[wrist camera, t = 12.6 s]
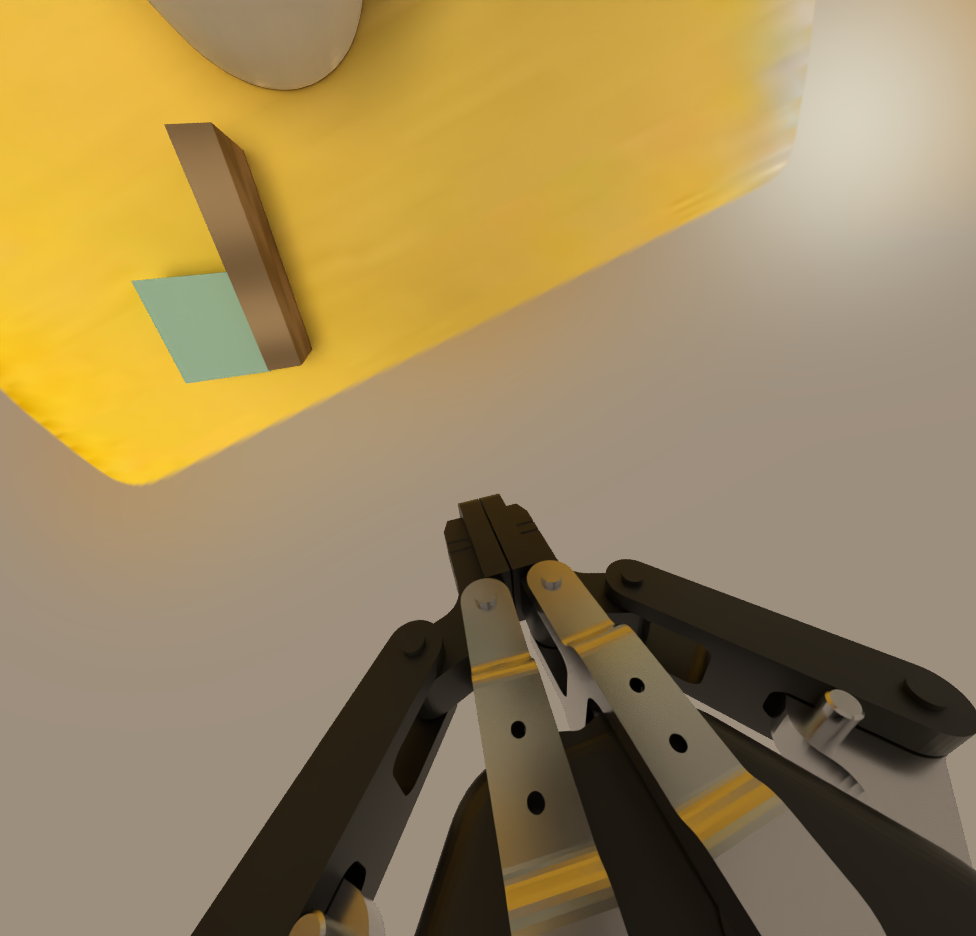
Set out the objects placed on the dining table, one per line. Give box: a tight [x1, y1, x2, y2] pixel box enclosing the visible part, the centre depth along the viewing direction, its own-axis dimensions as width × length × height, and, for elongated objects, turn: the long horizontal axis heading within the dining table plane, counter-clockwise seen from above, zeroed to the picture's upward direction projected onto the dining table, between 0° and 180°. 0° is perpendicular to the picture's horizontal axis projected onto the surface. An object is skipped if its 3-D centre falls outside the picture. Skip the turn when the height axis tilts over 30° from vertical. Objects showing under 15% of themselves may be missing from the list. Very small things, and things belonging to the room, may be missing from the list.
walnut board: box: [164, 122, 312, 371], centre depth 26 cm, size 14×2×6 cm, turn 6°
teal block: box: [132, 272, 271, 383], centre depth 28 cm, size 7×6×5 cm
